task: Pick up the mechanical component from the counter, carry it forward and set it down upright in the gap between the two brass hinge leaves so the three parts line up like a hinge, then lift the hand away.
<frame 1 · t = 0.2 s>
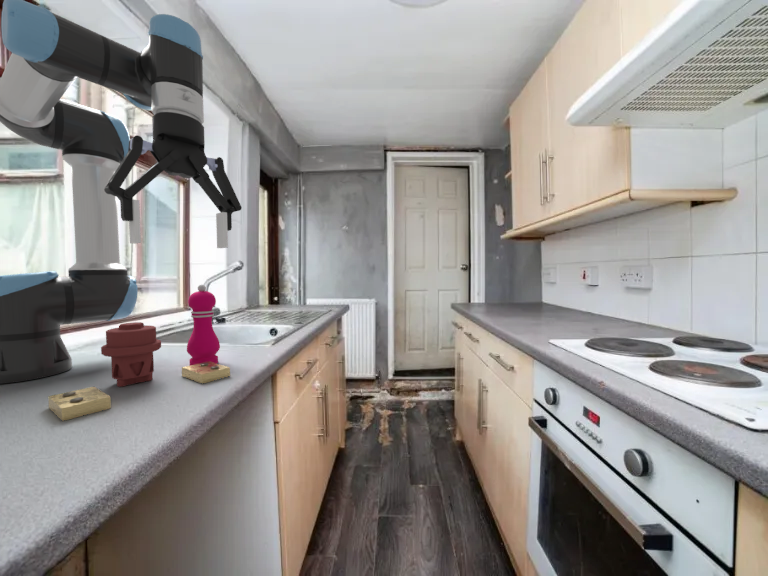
hand: (182, 245, 57), 27 cm above the countertop, tool pointing down, fingers open, 13 cm apart
pepper mill: (204, 365, 83), on the countertop
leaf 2: (206, 376, 73), on the countertop
mechanical component: (133, 382, 70), on the countertop
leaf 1: (79, 408, 56), on the countertop
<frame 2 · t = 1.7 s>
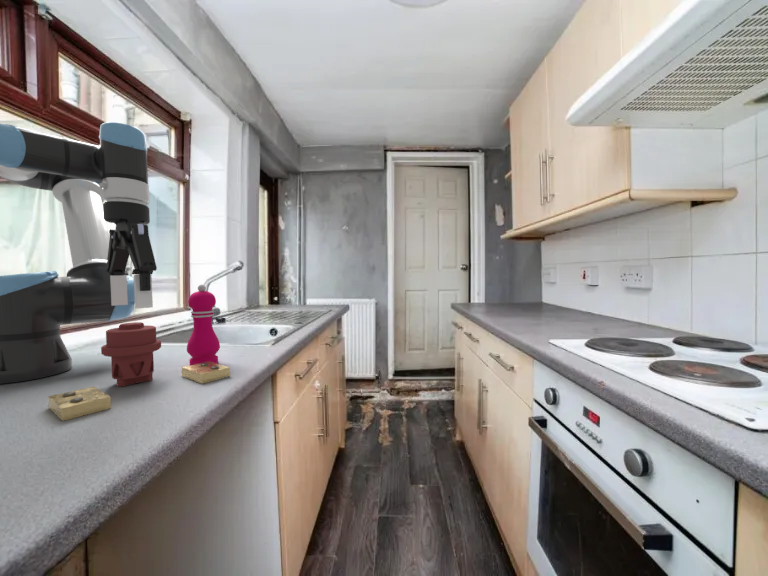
hand: (131, 306, 69), 16 cm above the countertop, tool pointing down, fingers open, 13 cm apart
nothing on the countertop moved.
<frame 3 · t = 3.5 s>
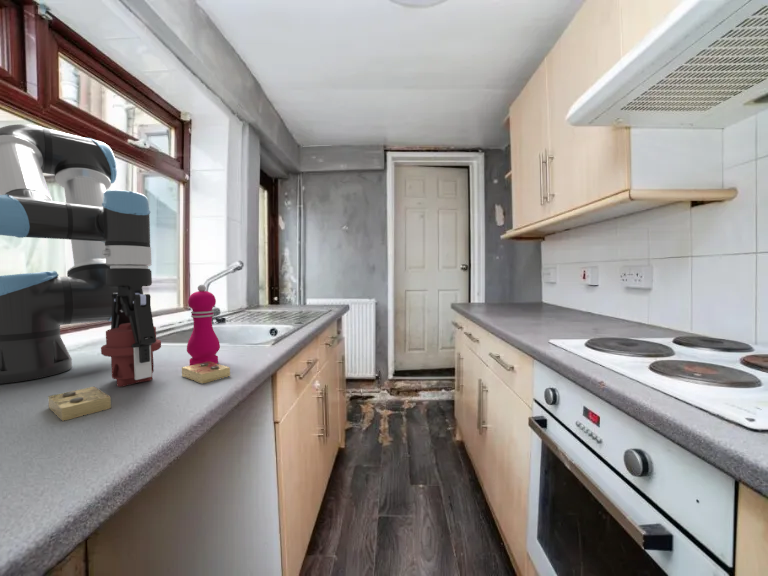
hand: (133, 373, 70), 2 cm above the countertop, tool pointing down, fingers closed on mechanical component, 10 cm apart
mechanical component: (133, 382, 70), on the countertop, touching gripper
everything else where it was.
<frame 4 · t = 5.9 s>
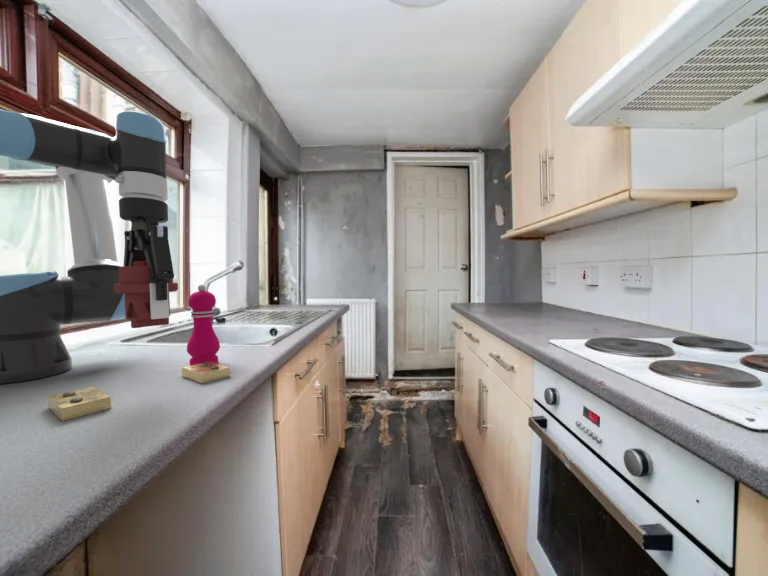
hand: (148, 316, 64), 14 cm above the countertop, tool pointing down, fingers closed on mechanical component, 10 cm apart
mechanical component: (148, 326, 64), point 12 cm above the countertop, touching gripper
everything else where it was.
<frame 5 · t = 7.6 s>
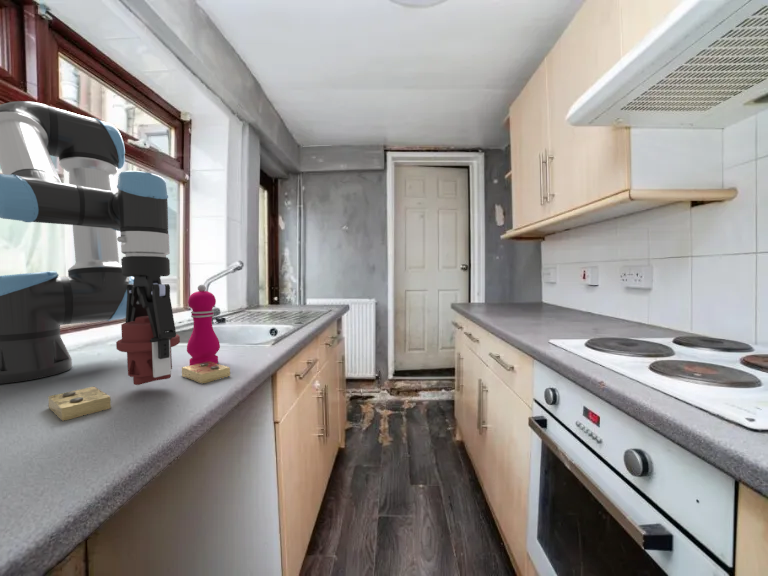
hand: (150, 370, 64), 4 cm above the countertop, tool pointing down, fingers closed on mechanical component, 10 cm apart
mechanical component: (151, 380, 65), point 2 cm above the countertop, touching gripper
everything else where it was.
when the fingers open (3 cm above the countertop, at t = 8.7 s): mechanical component drops 1 cm, on the countertop.
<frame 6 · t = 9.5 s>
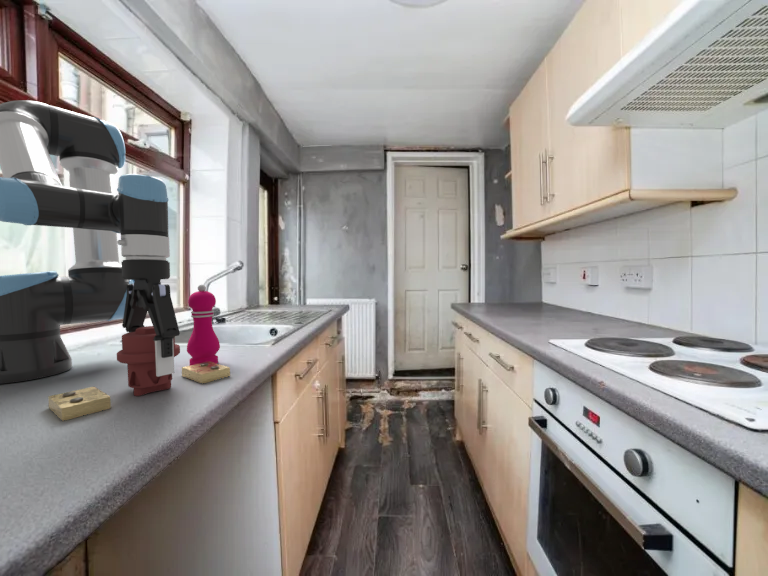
hand: (150, 368, 64), 4 cm above the countertop, tool pointing down, fingers open, 13 cm apart
mechanical component: (151, 391, 65), on the countertop
everything else where it was.
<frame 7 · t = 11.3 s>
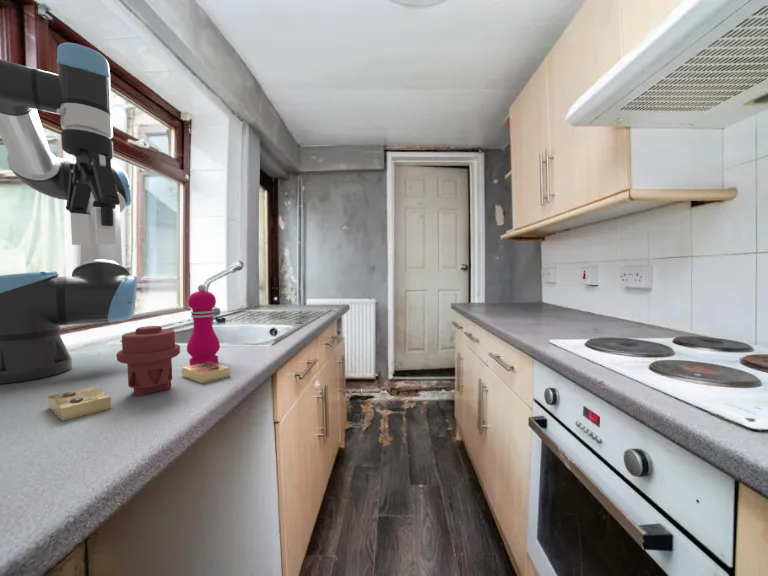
hand: (92, 244, 66), 29 cm above the countertop, tool pointing down, fingers open, 13 cm apart
nothing on the countertop moved.
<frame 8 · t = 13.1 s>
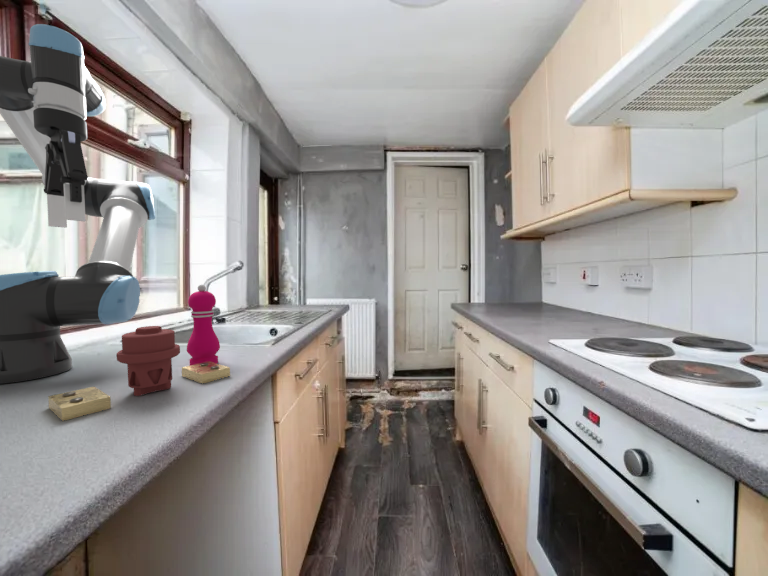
hand: (66, 224, 66), 33 cm above the countertop, tool pointing down, fingers open, 13 cm apart
nothing on the countertop moved.
at the end: mechanical component inside the target area (0.2 cm from its centre), on the countertop; mechanical component tilted 0°; the gripper is holding nothing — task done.
